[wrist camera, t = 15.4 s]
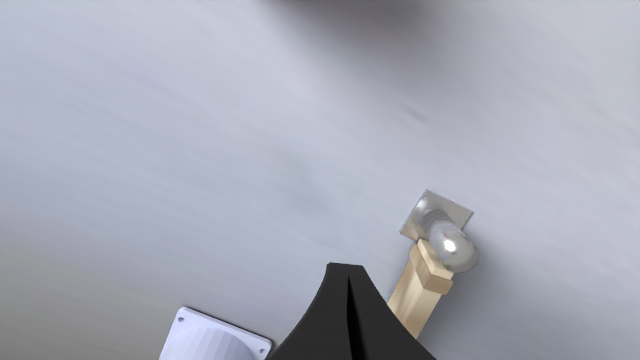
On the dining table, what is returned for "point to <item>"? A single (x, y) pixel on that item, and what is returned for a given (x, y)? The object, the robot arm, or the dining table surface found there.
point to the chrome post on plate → (442, 231)
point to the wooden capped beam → (419, 287)
